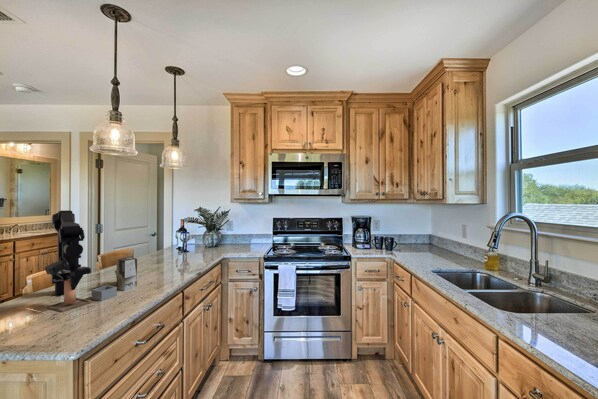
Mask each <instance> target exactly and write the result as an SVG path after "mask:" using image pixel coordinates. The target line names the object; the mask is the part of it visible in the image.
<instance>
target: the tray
mask: <svg viewBox="0 0 598 399" xmlns="http://www.w3.org/2000/svg"><path fill="white" fill-rule="evenodd" d="M92 303H93V300H90V299H85V298H79V297H76V302H75V303H72V304H64V301H61V302H57V303H54V304H50V305H48V306H46V310H47V309H49V310H52V311H56V312H59V313H65V312H68V311H71V310H74V309H77V308H82V307H84V306H87V305H90V304H92Z"/></svg>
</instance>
